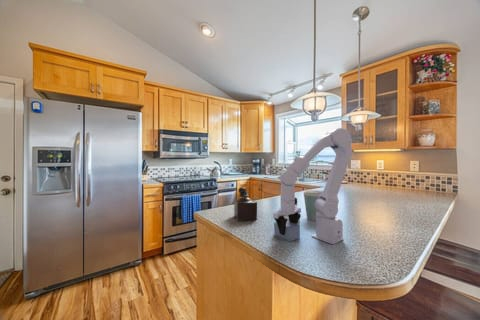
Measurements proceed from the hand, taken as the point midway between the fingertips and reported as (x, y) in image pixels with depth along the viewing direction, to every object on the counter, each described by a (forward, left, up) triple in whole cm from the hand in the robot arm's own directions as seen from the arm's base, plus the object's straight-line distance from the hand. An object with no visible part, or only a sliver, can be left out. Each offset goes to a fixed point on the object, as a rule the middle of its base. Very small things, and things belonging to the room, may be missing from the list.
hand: (287, 232), depth 83 cm
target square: (0, 0, -2) cm, 2 cm away
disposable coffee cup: (+9, -30, -2) cm, 31 cm away
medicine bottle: (+14, -18, -2) cm, 23 cm away
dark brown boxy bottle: (+29, 0, -2) cm, 29 cm away
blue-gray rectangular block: (0, 0, -2) cm, 2 cm away
